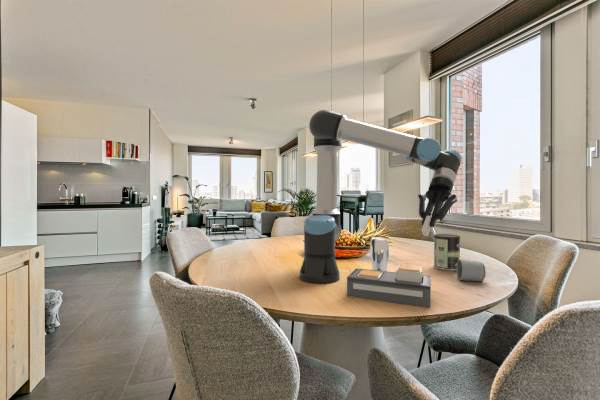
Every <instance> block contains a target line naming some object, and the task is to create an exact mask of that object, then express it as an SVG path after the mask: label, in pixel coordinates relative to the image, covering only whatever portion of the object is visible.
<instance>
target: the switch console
mask: <svg viewBox="0 0 600 400" xmlns="http://www.w3.org/2000/svg"><path fill="white" fill-rule="evenodd" d="M362 270H367V269H365V268H355V269H354V270H352V272H350V274H349V275H348V276H347V277H346V296H347V297H352V298H359V299H365V300H373V301H379V302H387V303H393V304H394V303H395V304H400V305H401V304H403V305H407V306H408V305H409V306H415V307H416V306H418V307H422V308H423V307H424V308H431V295H432V294H431V290H432V289H431V285H432V279H431V278H432V276H431V275H424V274H422V281H421V283H416V282H407V281H398V280H396V271H395V272H394V271H388V270H387V271H379V272H381V273H383V276H382V277H381V279H377V278H368V277H359V276H357V275H358V274H359V273H360V272H361V271H362ZM368 270H369V271H377V270H372V269H368Z"/></svg>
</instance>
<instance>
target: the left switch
mask: <svg viewBox="0 0 600 400" xmlns="http://www.w3.org/2000/svg"><path fill="white" fill-rule="evenodd" d="M369 270H370V269H366V270H362V271H361V272H360V273H359V274H358V275H357V276H359V277H368V278H377V279H381V277H382V276H383V273H381V272H379V271H369Z"/></svg>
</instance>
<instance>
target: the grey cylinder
mask: <svg viewBox="0 0 600 400" xmlns="http://www.w3.org/2000/svg"><path fill="white" fill-rule="evenodd" d="M486 273H487V271H486V266H485V265H484V263H483V262H482V261H478V260H470V259H462V258H460V259H459V260H458V263H457V270H456V276H457V279H458V280H459V281H464V282H465V281H466V282H467V281H469V282H483V281H484V280H485V278H486Z"/></svg>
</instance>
